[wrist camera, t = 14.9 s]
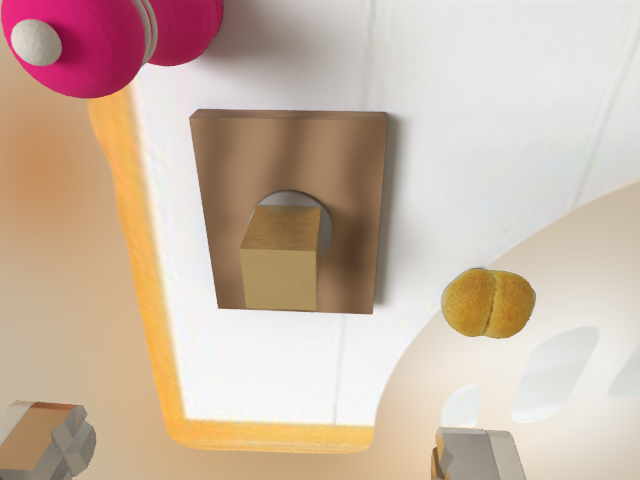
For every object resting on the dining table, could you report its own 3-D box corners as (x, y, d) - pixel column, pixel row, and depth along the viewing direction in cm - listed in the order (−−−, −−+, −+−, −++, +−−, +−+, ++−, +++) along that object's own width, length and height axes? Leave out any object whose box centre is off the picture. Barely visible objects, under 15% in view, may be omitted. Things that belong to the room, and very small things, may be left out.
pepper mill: (244, 38, 36) (148, 108, 19) (163, 66, 38) (7, 154, 20) (205, -67, 33) (45, -96, 16) (118, -32, 34) (-116, -23, 17)
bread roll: (447, 261, 46) (454, 285, 43) (536, 268, 46) (551, 293, 43) (432, 323, 50) (438, 349, 47) (513, 330, 50) (525, 357, 47)
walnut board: (385, 111, 38) (394, 153, 30) (371, 298, 49) (375, 367, 41) (198, 109, 39) (156, 148, 31) (223, 293, 50) (198, 360, 41)
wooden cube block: (321, 206, 39) (315, 251, 33) (321, 261, 42) (316, 310, 36) (256, 205, 40) (239, 248, 34) (260, 259, 42) (246, 307, 37)
